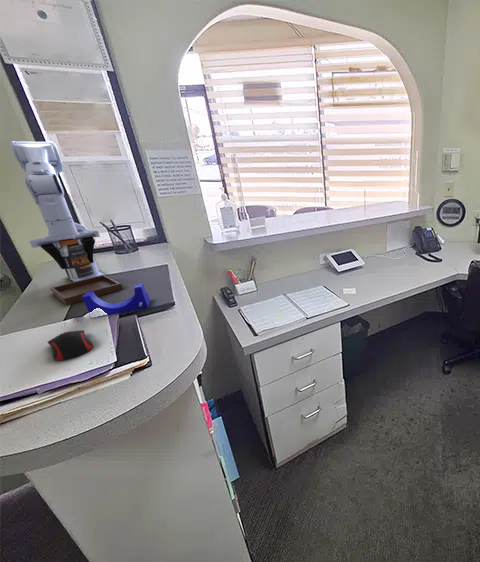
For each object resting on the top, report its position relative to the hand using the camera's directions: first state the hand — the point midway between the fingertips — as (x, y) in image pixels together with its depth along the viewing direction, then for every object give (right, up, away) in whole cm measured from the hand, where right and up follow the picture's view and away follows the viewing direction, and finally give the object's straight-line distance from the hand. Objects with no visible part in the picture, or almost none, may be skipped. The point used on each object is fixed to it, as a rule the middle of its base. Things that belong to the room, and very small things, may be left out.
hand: (77, 265), depth 92 cm
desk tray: (0, -8, +3) cm, 8 cm away
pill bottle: (0, -3, +1) cm, 4 cm away
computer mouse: (+24, -19, -26) cm, 41 cm away
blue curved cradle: (+21, -13, -10) cm, 27 cm away
